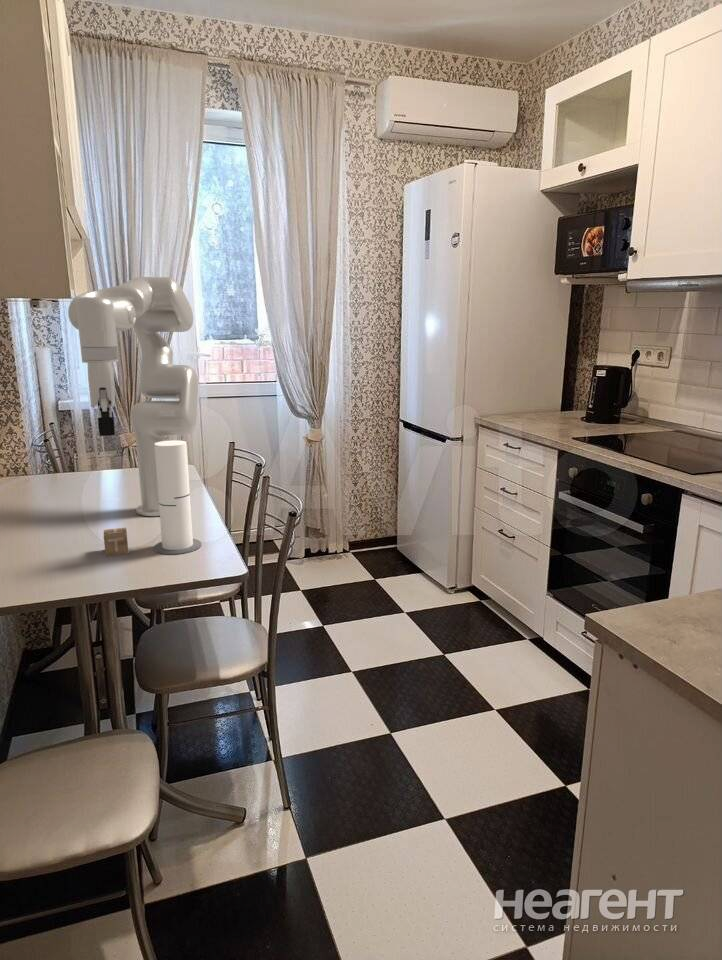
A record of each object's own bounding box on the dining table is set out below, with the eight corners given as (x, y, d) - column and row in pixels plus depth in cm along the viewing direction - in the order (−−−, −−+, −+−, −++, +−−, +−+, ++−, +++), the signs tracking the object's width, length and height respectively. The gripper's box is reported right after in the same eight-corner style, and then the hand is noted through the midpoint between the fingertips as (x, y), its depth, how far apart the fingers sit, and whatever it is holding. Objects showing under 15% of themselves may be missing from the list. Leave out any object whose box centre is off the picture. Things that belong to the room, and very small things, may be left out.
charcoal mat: (166, 538, 160) (165, 537, 160) (208, 540, 159) (207, 538, 158) (146, 553, 149) (145, 551, 149) (190, 555, 148) (190, 554, 148)
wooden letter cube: (105, 549, 152) (103, 529, 151) (127, 547, 154) (126, 526, 153) (105, 556, 148) (103, 535, 146) (128, 554, 149) (126, 533, 148)
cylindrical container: (196, 546, 153) (190, 444, 147) (166, 551, 149) (158, 446, 143) (188, 538, 159) (182, 439, 153) (159, 543, 155) (151, 442, 149)
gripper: (82, 353, 147) (90, 427, 151) (79, 357, 131) (88, 439, 136) (117, 353, 150) (123, 425, 154) (118, 357, 134) (125, 437, 138)
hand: (107, 431), depth 145 cm, fingers open, 9 cm apart
